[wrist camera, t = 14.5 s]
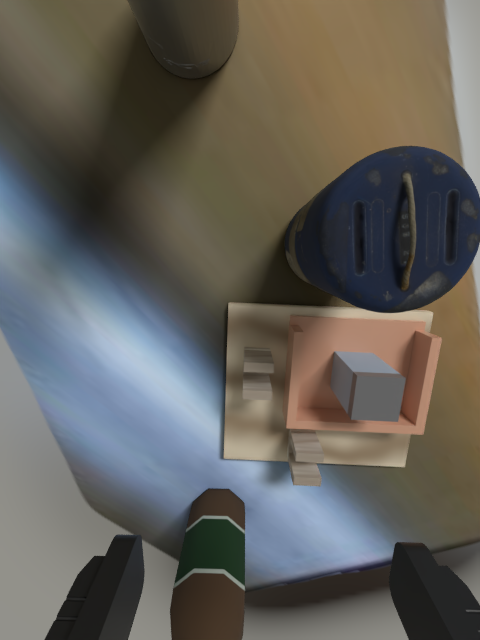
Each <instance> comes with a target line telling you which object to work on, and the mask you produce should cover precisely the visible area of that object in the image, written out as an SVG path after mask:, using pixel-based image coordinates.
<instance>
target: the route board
mask: <svg viewBox="0 0 480 640" xmlns="http://www.w3.org/2000/svg"><path fill="white" fill-rule="evenodd" d="M290 315H295V316H319V317H343V318H367V319H391V320H414V321H425V322H426V325H425V331H426V332H429V333H430V328H431V323H432V317H433V312H430V311H426V310H411V311H406V312H401V313H378V312H373V311H368V310H365V309H361V308H353V307H329V306H305V305H281V304H257V303H233V302H229V304H228V335H227V368H226V400H225V433H224V459H242V460H264V461H285V462H289V467H290V472H291V477H292V481H293V485H304V486H321V476H320V473H319V470H318V467H317V464H316V463H328V464H349V465H370V466H392V467H405V462H406V457H407V452H408V446H409V441H410V436H411V434H398V433H376V432H354V431H333V430H311V429H289V428H286V424H285V420H284V416H283V412H282V410H283V397H284V384H285V372H286V359H287V346H288V333H289V320H290Z"/></svg>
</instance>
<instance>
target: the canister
mask: <svg viewBox="0 0 480 640" xmlns="http://www.w3.org/2000/svg"><path fill="white" fill-rule="evenodd" d="M479 243H480V197H479V194H478V191H477V189H476V186H475V185H474V183H473V181H472V179H471V178H470V176H469V175H468V174H467V172H466V171H465V170H464V169H463V168H462V167H461V166H460V165H459V164H458V163H456V162H455V161H454V160H453V159H451V158H450V157H448V156H447V155H445V154H443V153H441V152H439V151H436V150H433V149H429V148H425V147H418V146H400V147H394V148H389V149H385V150H382V151H379V152H376V153H374V154H371V155H369V156H367V157H365V158H364V159H362V160H360V161H359V162H357V163H355V164H354V165H353V166H351V167H350V168H349V169H347V170H346V171H345V172H344V173H342V174H341V175H340V176H339V177H338V178H336V179H335V180H334V181H332V182H331V183H330V184H329V185H327V186H326V187H325V188H324V189H322V190H321V191H320V192H319V193H317V194H316V195H315V196H314V197H313V199H312V200H310V201H309V202H308V203H307V204H306V205H304V206H303V207H302V208H301V209H300V210H299V211H298V212H297V213H296V214H295V216H294V217H293V219H292V220H291V222H290V224H289V226H288V229H287V232H286V236H285V254H286V258H287V261H288V263H289V265H290V267H291V269H292V270H293V271H294V273H295V274H296V275H297V276H298V277H299V278H301V279H302V280H303V281H305V282H307V283H309V284H311V285H313V286H315V287H317V288H319V289H321V290H322V291H324V292H327V293H329V294H332V295H334V296H336V297H338V298H340V299H342V300H344V301H346V302H348V303H350V304H352V305H354V306H356V307H359V308H361V309H365V310H368V311H373V312H378V313H401V312H406V311H411V310H414V309H418V308H421V307H423V306H426V305H428V304H430V303H432V302H433V301H435V300H437V299H439V298H440V297H442V296H443V295H444V294H446V293H447V292H448V291H450V290H451V289H452V288H453V287H454V286H455V285H456V284H457V283H458V282H459V281H460V279H461V278H462V277H463V276H464V274H465V273H466V272H467V270H468V268H469V267H470V265H471V263H472V262H473V260H474V257H475V255H476V253H477V250H478V247H479Z"/></svg>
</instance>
